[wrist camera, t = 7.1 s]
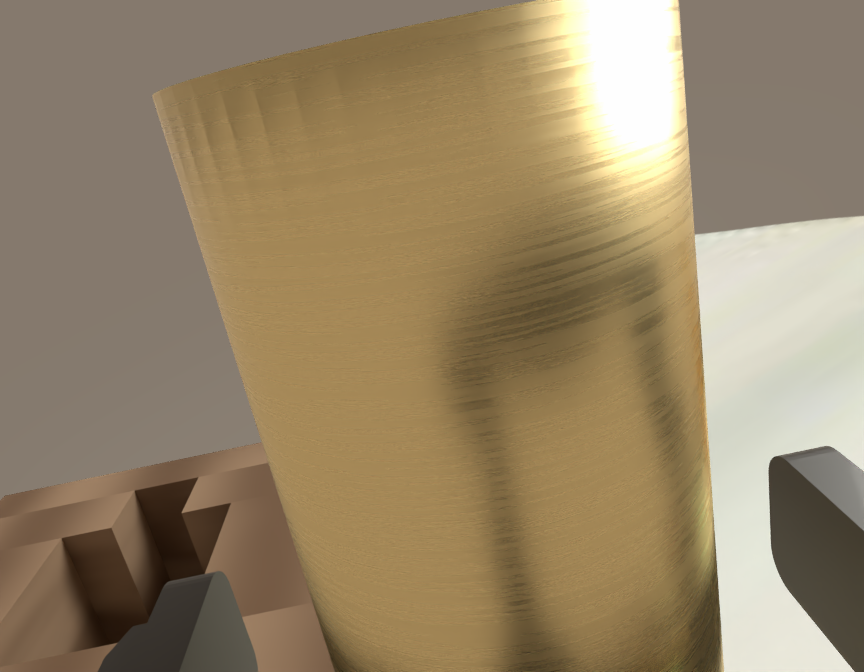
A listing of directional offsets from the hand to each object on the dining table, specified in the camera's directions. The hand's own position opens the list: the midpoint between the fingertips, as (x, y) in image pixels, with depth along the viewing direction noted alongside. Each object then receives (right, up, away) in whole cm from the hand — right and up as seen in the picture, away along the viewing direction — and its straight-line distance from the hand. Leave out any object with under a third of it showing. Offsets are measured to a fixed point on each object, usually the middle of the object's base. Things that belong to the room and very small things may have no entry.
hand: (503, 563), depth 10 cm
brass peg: (+2, -11, +2) cm, 11 cm away
